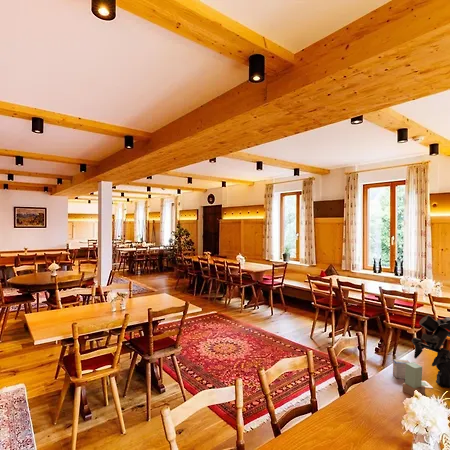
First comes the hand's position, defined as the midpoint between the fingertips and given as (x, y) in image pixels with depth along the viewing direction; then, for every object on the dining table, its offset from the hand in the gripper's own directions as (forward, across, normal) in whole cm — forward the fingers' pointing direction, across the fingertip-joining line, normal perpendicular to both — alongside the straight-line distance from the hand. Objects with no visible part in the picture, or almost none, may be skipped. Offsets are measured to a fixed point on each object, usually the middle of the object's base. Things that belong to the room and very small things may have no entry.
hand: (423, 361), depth 159 cm
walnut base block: (+15, +1, +4) cm, 16 cm away
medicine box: (+9, -12, +11) cm, 19 cm away
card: (+7, -3, +12) cm, 15 cm away
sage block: (+13, +1, +1) cm, 13 cm away
